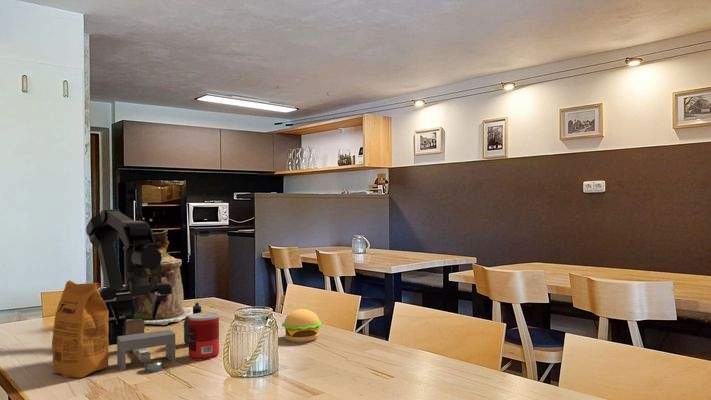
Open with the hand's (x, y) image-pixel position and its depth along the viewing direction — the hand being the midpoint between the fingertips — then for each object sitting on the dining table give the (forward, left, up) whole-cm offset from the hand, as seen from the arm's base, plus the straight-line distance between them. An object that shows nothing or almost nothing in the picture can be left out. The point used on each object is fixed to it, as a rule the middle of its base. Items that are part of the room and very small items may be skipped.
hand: (135, 321), depth 144 cm
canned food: (+17, +14, -8) cm, 24 cm away
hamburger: (+16, +44, -8) cm, 48 cm away
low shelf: (+14, 0, -8) cm, 16 cm away
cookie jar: (-41, +14, -8) cm, 44 cm away
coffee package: (+12, -15, -8) cm, 21 cm away
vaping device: (+3, +15, -8) cm, 17 cm away
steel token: (+22, 0, -8) cm, 23 cm away
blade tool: (+6, 0, -8) cm, 10 cm away
